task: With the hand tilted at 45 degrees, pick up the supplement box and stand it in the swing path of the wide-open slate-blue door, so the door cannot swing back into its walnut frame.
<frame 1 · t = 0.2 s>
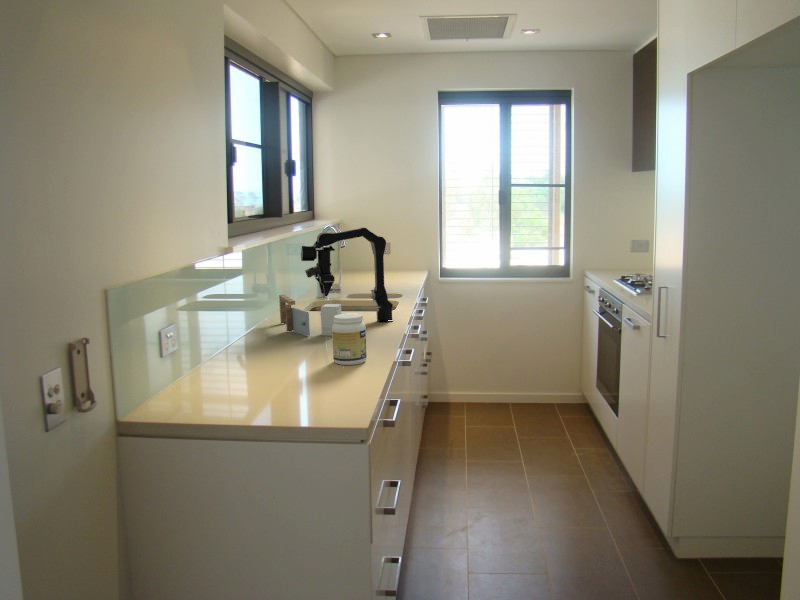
hand: (324, 295, 317), 14 cm above the countertop, tool pointing down, fingers open, 9 cm apart
supplement tub: (350, 362, 252), on the countertop
door: (298, 321, 303), point 6 cm above the countertop, hinge at -170.0°
supplement box: (332, 334, 302), on the countertop
door frame: (292, 330, 311), on the countertop
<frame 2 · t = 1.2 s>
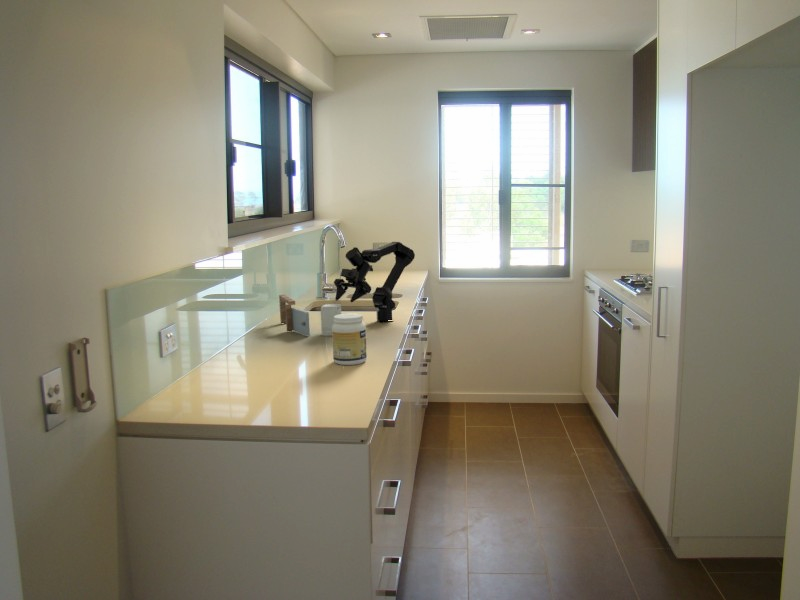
hand: (343, 300, 305), 13 cm above the countertop, tool tilted 45°, fingers open, 9 cm apart
nothing on the countertop moved.
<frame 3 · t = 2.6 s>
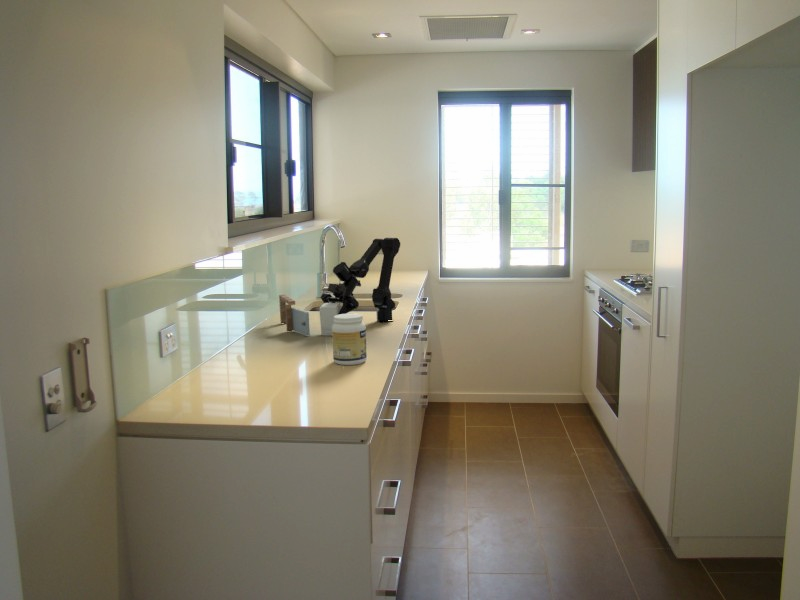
hand: (330, 316, 300), 8 cm above the countertop, tool tilted 45°, fingers closed on supplement box, 9 cm apart
supplement box: (332, 333, 301), on the countertop, touching gripper
everything else where it was.
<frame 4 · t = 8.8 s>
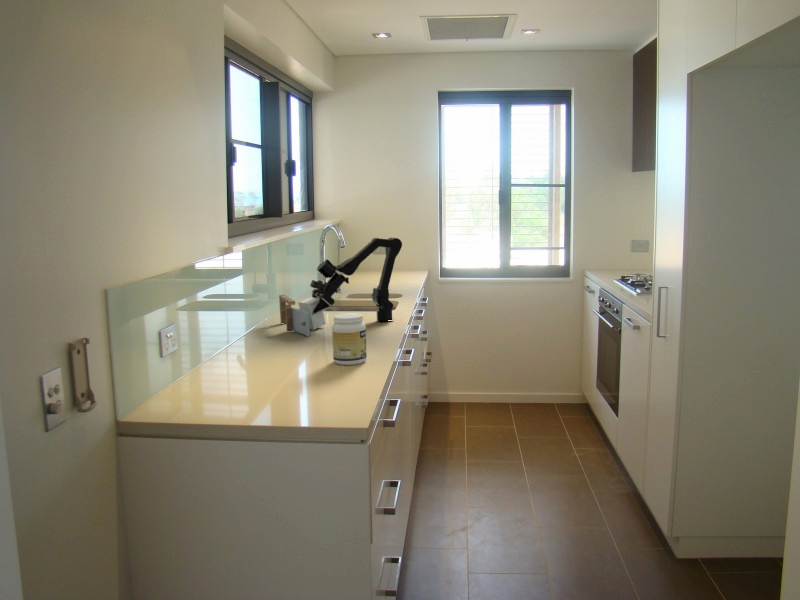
hand: (310, 311, 313), 8 cm above the countertop, tool tilted 45°, fingers closed on supplement box, 9 cm apart
supplement box: (315, 326, 315), point 1 cm above the countertop, touching gripper
everything else where it was.
when the fingers open (8 cm above the countertop, at t = 9.0 s): supplement box moves 1 cm, on the countertop.
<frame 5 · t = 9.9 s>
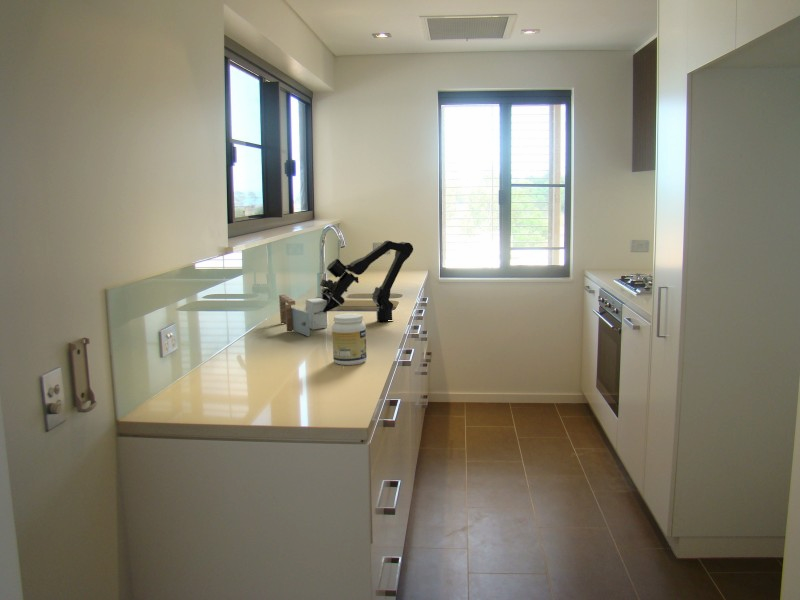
hand: (320, 310, 315), 8 cm above the countertop, tool tilted 45°, fingers open, 9 cm apart
supplement box: (316, 327, 316), on the countertop, touching gripper
everything else where it was.
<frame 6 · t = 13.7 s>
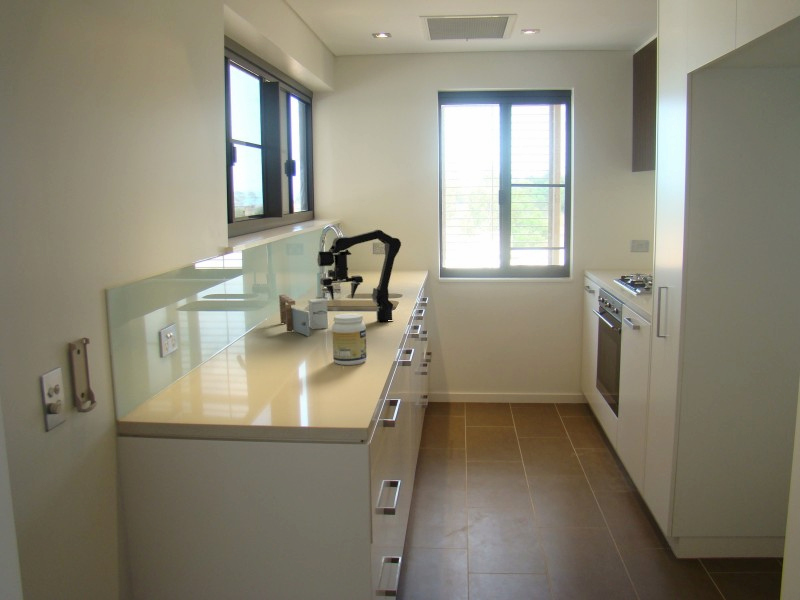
hand: (342, 299, 319), 12 cm above the countertop, tool pointing down, fingers open, 9 cm apart
supplement box: (319, 327, 317), on the countertop
everything else where it was.
at the end: supplement box 2.6 cm from the target spot, on the countertop; supplement box tilted 0°; door at -170° (first picture: -170°) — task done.
